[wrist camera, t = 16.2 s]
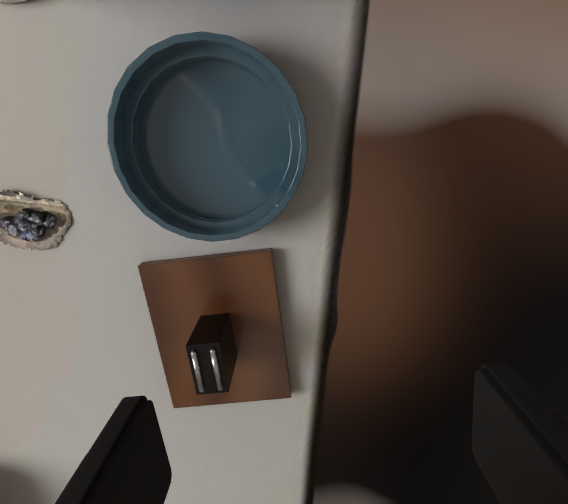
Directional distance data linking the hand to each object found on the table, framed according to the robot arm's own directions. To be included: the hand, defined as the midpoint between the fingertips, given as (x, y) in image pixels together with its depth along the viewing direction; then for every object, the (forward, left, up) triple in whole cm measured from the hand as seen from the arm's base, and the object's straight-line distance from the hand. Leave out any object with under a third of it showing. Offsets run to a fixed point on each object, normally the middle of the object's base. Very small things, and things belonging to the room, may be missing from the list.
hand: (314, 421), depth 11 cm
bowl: (-7, +8, -28) cm, 30 cm away
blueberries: (-27, +3, -28) cm, 39 cm away
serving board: (-10, -12, -28) cm, 32 cm away
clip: (-10, -12, -27) cm, 31 cm away
